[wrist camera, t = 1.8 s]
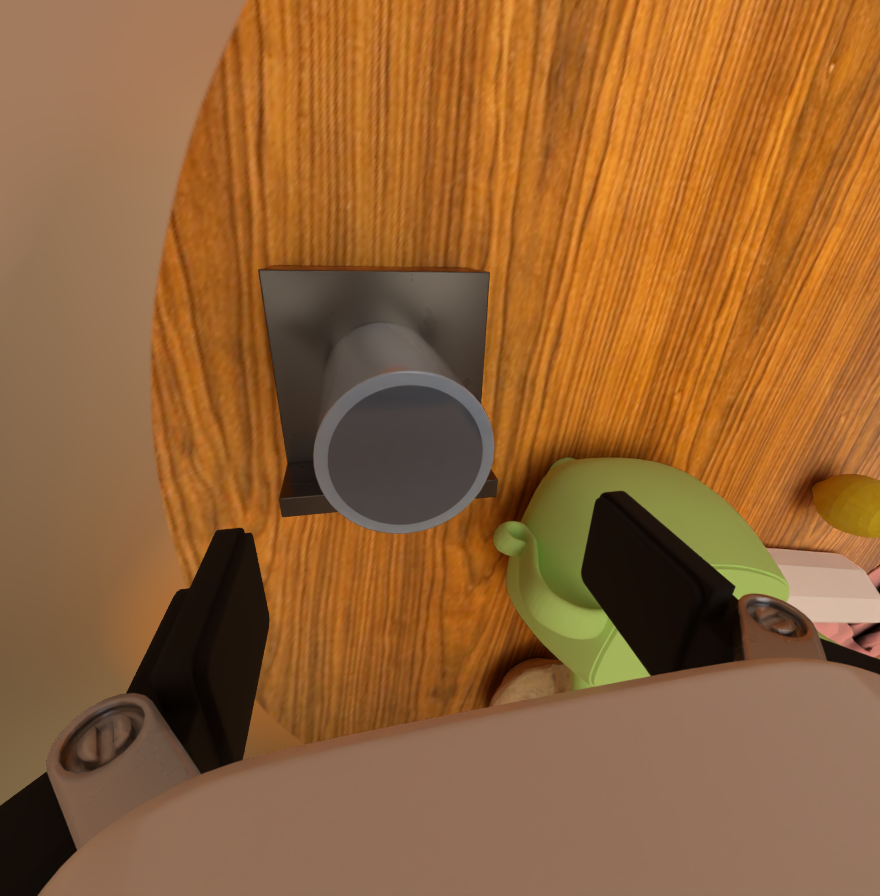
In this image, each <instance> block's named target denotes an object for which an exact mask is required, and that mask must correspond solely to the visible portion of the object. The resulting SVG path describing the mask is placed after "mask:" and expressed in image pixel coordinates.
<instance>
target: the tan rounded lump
mask: <svg viewBox="0 0 880 896" xmlns="http://www.w3.org/2000/svg"><path fill="white" fill-rule="evenodd" d="M569 691H571V680H570V669H569V668H568V667H567V666H566V665H565V664H564V663H563V662H561V661H560V660H555V659H543V658H533V659H529V660H526V661H523V662H521V663H519V664H518V665H516V666H515V667H513V668H512V669H511V670H510V671H509V672H508V673H507V674H506V675H505V677H504V678H503V681H502V683H501V685H500V686H499V687H498V689H497V690H496V692H495V693H494V695H493V697H492V699H491V701H490V705H489V707H492V706H497V705H502V704H507V703H512V702H517V701H523V700H528V699H533V698H538V697H543V696H548V695H554V694H559V693H564V692H569Z"/></svg>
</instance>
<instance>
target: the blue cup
mask: <svg viewBox="0 0 880 896" xmlns="http://www.w3.org/2000/svg"><path fill="white" fill-rule="evenodd" d="M493 456H494V437H493V430H492V427H491V423H490V420H489V418H488V416H487V414H486V412H485V410H484V408H483V407H482V405H481V404H480V402H479V401H478V400H477V399H476V398H475V397H474V395H473V394H472V393H471V392H470V391H469V390H468V388H467V387H466V386H465V385H464V384H463V383H462V382H461V380H460V379H459V378H458V377H457V376H456V375H455V373H454V372H453V371H452V370H451V369H450V368H449V367H448V365H447V364H446V363H445V362H444V361H443V360H442V358H441V357H440V356H439V355H438V354H437V353H436V352H435V350H434V349H433V348H432V347H431V346H430V345H429V344H428V342H427V341H426V340H425V339H424V338H423V337H421V336H420V335H419V334H418V333H416V332H415V331H413V330H411V329H409V328H407V327H405V326H402V325H399V324H393V323H383V322H382V323H372V324H368V325H364V326H361V327H359V328H357V329H355V330H353V331H351V332H350V333H348V334H347V335H345V336H344V337H343V338H342V339H341V340H340V341H339V342H338V343H337V344H336V346H335V347H334V348H333V350H332V352H331V353H330V355H329V357H328V360H327V362H326V366H325V370H324V377H323V385H322V392H321V399H320V407H319V414H318V421H317V428H316V436H315V443H314V452H313V461H314V470H315V475H316V478H317V481H318V484H319V487H320V488H321V490H322V492H323V494H324V496H325V497H326V499H327V500H328V501H329V503H330V504H331V505H332V506H333V507H334V508H335V509H336V510H337V511H338V512H339V513H340V514H342V515H343V516H344V517H345V518H347V519H348V520H350V521H352V522H354V523H355V524H357V525H360V526H362V527H364V528H367V529H370V530H374V531H378V532H384V533H395V534H401V533H412V532H418V531H422V530H426V529H430V528H432V527H435V526H438V525H440V524H442V523H444V522H446V521H448V520H450V519H451V518H453V517H454V516H456V515H457V514H459V513H460V512H461V511H462V510H463V509H465V508H466V507H467V506H468V505H469V504H470V503H471V502H472V501H473V500H474V498H475V497H476V496H477V495H478V493H479V492H480V491H481V489H482V487H483V485H484V484H485V482H486V480H487V477H488V475H489V473H490V469H491V466H492V462H493Z"/></svg>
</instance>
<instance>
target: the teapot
mask: <svg viewBox="0 0 880 896" xmlns="http://www.w3.org/2000/svg"><path fill="white" fill-rule="evenodd" d="M613 491H624V492H626V493H627V494H628V495H630V496H631V497H632V498H633V499H634V500H635V501H637V502H638V503H639V504H640V505H641V506H642V507H644V508H645V509H646V510H647V511H648V512H649V513H651V514H652V515H653V516H654V517H655V518H656V519H658V520H659V521H660V522H661V523H662V524H663V525H665V526H666V527H667V528H668V529H669V530H670V531H672V532H673V533H674V534H675V535H676V536H677V537H679V538H680V539H681V540H682V541H683V542H684V543H686V544H687V545H688V546H689V547H690V548H691V549H693V550H694V551H695V552H696V553H697V554H698V555H700V556H701V557H702V558H703V559H704V560H705V561H707V562H708V563H709V564H710V565H711V566H712V567H713V568H715V569H716V570H717V571H718V572H719V573H720V574H722V575H723V576H724V577H725V578H726V579H727V580H729V581H730V582H731V583H732V584H733V585H734V586H736V587H735V590H734V592H733V595H734V596H735V597H736V598H737V599H738V600H739V599H740V598H741V597H742V596H743V595H747V594H751V593H752V594H764V595H768V596H772V597H775V598H777V599H780V600H783V601H785V602H787V600H788V598H789V589H790V588H789V585H788V583H787V581H786V579H785V577H784V575H783V574H782V572H781V570H780V568H779V567H778V565H777V564H776V562H775V561H774V559H773V558H772V556H771V555H770V553H769V552H768V550H767V549H766V547H765V546H764V545H763V543H762V542H761V540H760V539H759V538H758V536H757V535H756V534H755V532H754V531H753V530H752V528H751V527H750V526H749V525H748V523H747V522H746V521H745V520H744V519H743V518H742V517H741V515H740V514H739V513H738V512H737V511H736V510H735V509H734V508H733V507H732V506H731V505H730V504H729V503H728V502H726V501H725V500H724V499H723V498H722V497H721V496H719V495H718V494H717V493H716V492H714V491H713V490H712V489H710V488H709V487H708V486H706V485H705V484H704V483H702V482H701V481H699V480H698V479H696V478H695V477H693V476H691V475H689V474H687V473H685V472H683V471H681V470H679V469H676V468H673V467H671V466H668V465H665V464H662V463H658V462H654V461H649V460H642V459H634V458H585V459H578V460H576V459H574V458H563V459H560V460H558V461H556V462H555V463H554V464H553V465H552V466H551V467H550V469H549V471H548V473H547V474H546V476H545V477H544V478H543V479H542V481H541V482H540V484H539V486H538V487H537V489H536V491H535V493H534V495H533V497H532V499H531V501H530V503H529V505H528V507H527V509H526V511H525V513H524V516H523V518H522V520H521V522H517V521H508V522H504V523H502V524H501V525H499V526H498V528H497V529H496V530H495V532H494V538H493V543H494V546H495V547H496V549H497V550H499V551H500V552H502V553H503V554H506V555H509V556H510V557H509V561H508V566H507V574H506V587H507V592H508V594H509V597H510V599H511V601H512V603H513V605H514V607H515V608H516V610H517V611H518V613H519V615H520V616H521V618H522V619H523V620H524V622H525V623H526V624H527V626H528V627H529V628H530V630H531V631H532V632H533V633H534V635H535V636H536V637H537V638H538V639H539V640H540V641H541V642H542V644H543V645H544V646H545V647H546V648H547V649H548V650H550V651H551V652H552V653H553V654H554V655H555V656H556V657H557V658H558V659H559V660H560V661H561V662H563V663H564V664H565V665H566V666H567V667H568V668H569V669H570V680H571V691H574V690H580V689H585V688H590V687H595V686H601V685H606V684H611V683H617V682H622V681H627V680H633V679H638V678H643V677H649V676H650V674H649V673H648V672H647V670H646V669H645V667H644V666H643V665H642V663H641V662H640V661H639V659H638V658H637V656H636V655H635V654H634V652H633V651H632V649H631V648H630V647H629V645H628V644H627V643H626V641H625V640H624V638H623V637H622V636H621V634H620V633H619V631H618V630H617V629H616V627H615V626H614V624H613V623H612V622H611V620H610V619H609V618H608V616H607V615H606V613H605V612H604V611H603V609H602V608H601V606H600V605H599V604H598V602H597V601H596V599H595V598H594V597H593V595H592V594H591V593H590V591H589V590H588V588H587V587H586V586H585V584H584V582H583V580H582V577H581V568H582V563H583V558H584V553H585V548H586V544H587V539H588V534H589V529H590V524H591V519H592V514H593V509H594V504H595V501H596V499H597V498H600V495H601V494H602V493H604V492H613ZM817 632H818V631H817ZM818 635H819V638H822V639H824V640H827V641H830V642H833V643H835V644H838V643H836V642H834V641H832V640H831V639H829V638H827V637H826V636H824V635H823V634H821V633H820V632H818ZM838 645H840V644H838ZM841 646H842V645H841Z"/></svg>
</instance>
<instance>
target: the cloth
mask: <svg viewBox="0 0 880 896" xmlns="http://www.w3.org/2000/svg"><path fill="white" fill-rule="evenodd" d="M868 577H869V579H870V580H871V582H872V583H873V585H874V586H875V588H876V589H877V591H878V592H879V594H880V566H879V567H878V568H876V569H875V570H873V571H872V572H870V573H869V574H868ZM813 624H814V626H815V628H816V629H817V631H818V632H820V633H821V634H823V635H824V636H826V637H827V638H829V639H831V640H832V641H834V642H836V643H838V644H840V645H842V646H844V647H846V648H849V649H852V650H855V651H857V652H860V653H863V654H866V655H868V656H871V657H876V656H878V655H879V654H880V623H813Z"/></svg>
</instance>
